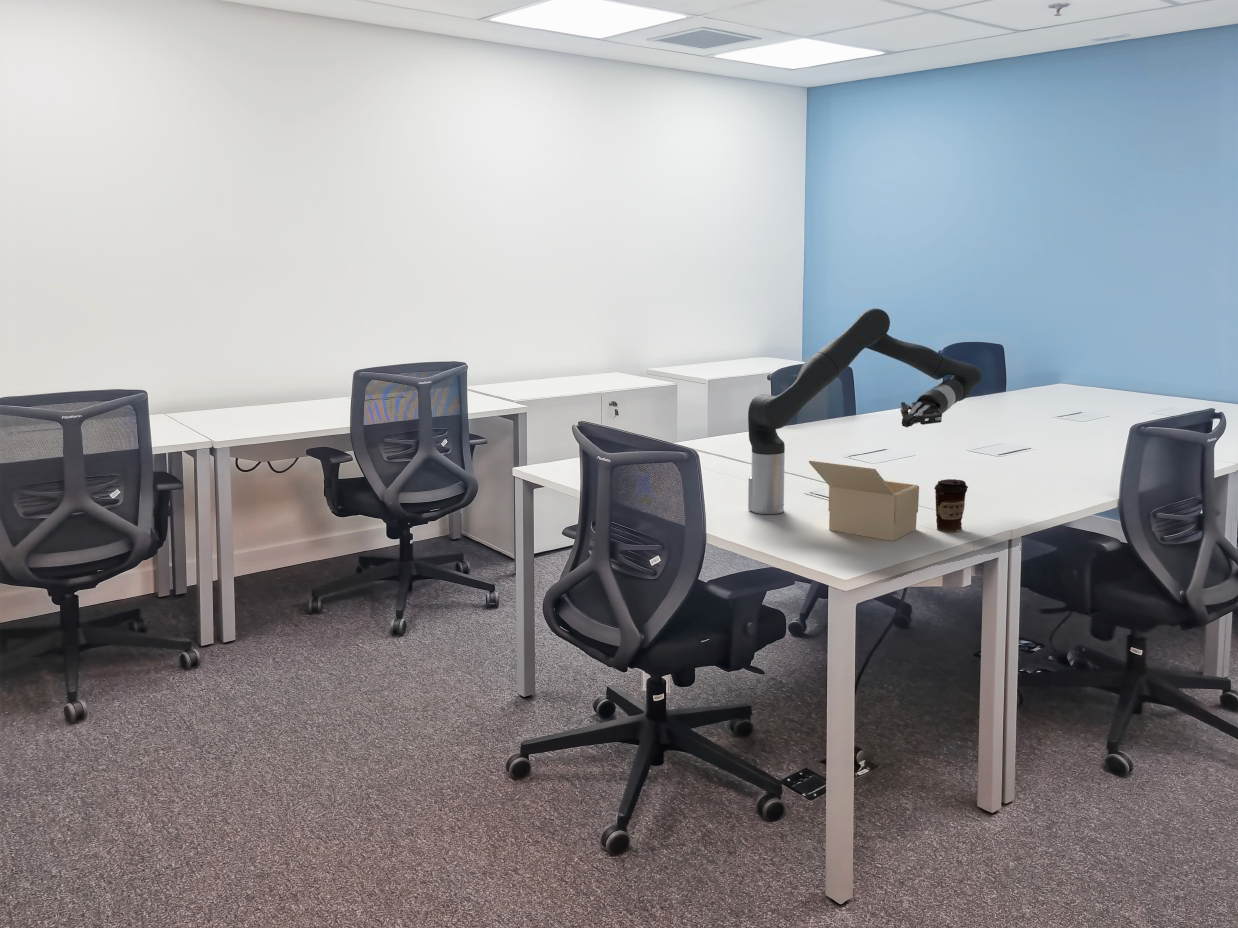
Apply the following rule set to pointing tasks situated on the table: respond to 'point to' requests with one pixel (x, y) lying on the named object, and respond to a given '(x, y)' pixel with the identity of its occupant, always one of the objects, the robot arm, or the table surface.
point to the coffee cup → (950, 504)
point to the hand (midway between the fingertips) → (904, 423)
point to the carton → (874, 511)
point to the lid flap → (852, 477)
